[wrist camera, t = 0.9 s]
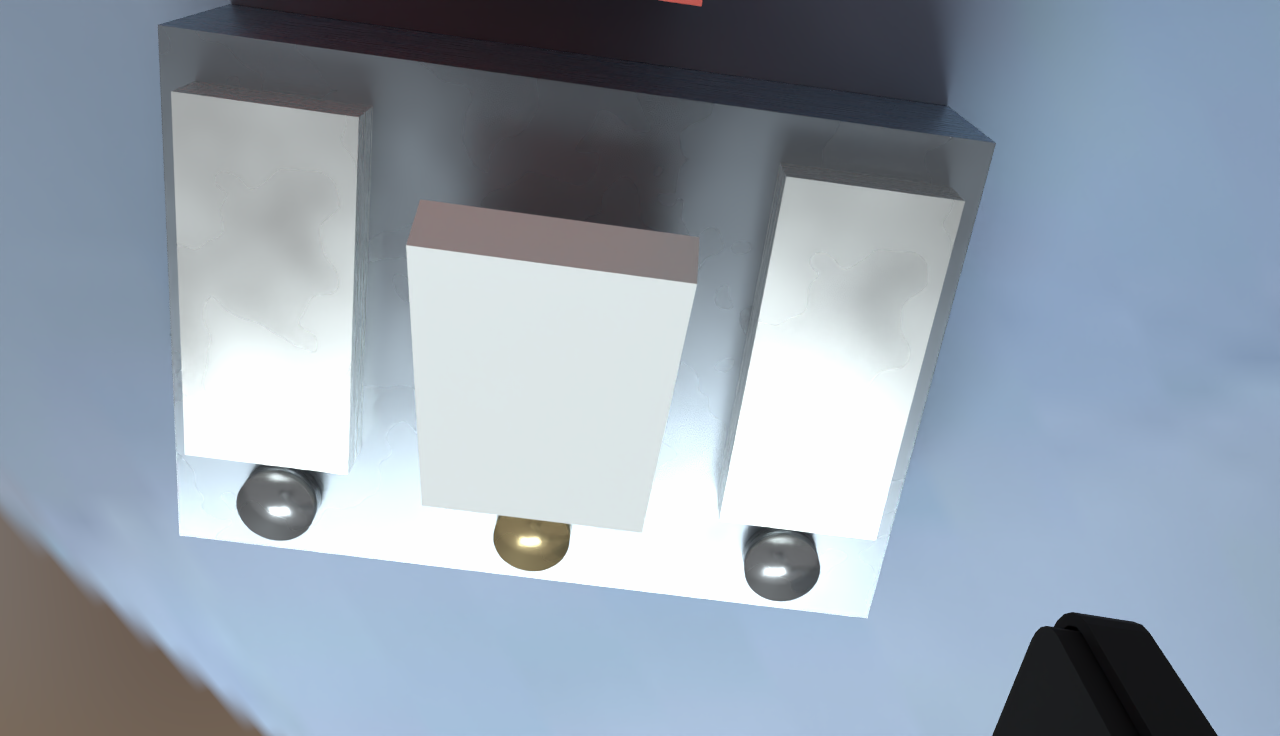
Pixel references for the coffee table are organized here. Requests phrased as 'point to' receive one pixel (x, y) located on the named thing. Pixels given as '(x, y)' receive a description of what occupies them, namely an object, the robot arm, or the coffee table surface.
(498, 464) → the white rectangular plate
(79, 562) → the coffee table surface
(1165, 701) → the robot arm
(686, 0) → the box
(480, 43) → the breaker board
